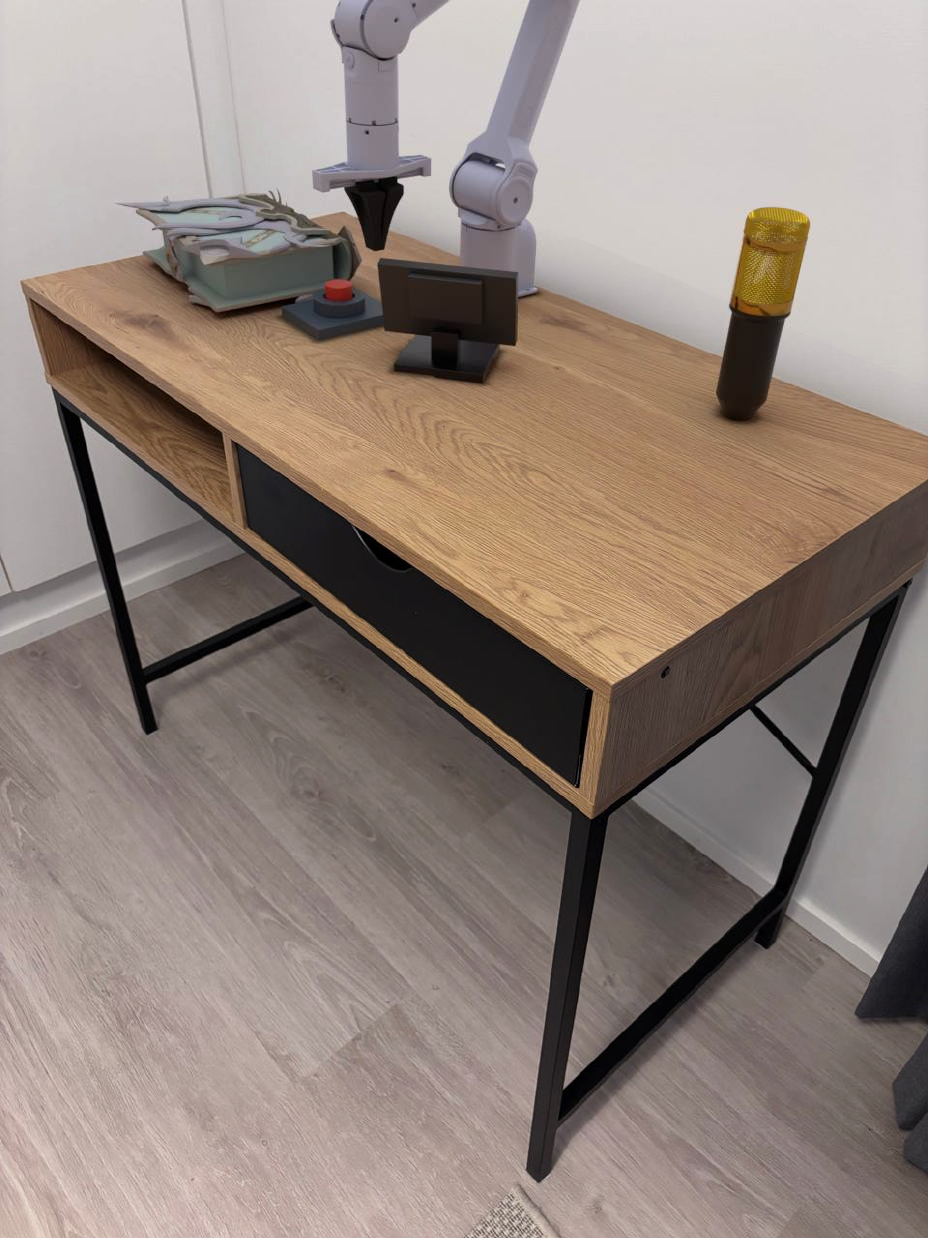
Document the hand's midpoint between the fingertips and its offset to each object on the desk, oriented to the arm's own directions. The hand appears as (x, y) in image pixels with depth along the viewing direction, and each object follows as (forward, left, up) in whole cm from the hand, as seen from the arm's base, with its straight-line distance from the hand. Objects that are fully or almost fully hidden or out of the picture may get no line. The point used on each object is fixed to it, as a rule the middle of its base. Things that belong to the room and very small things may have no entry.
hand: (375, 248), depth 116 cm
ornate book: (+7, -22, -9) cm, 25 cm away
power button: (+4, -2, -6) cm, 7 cm away
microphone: (-17, +39, -9) cm, 43 cm away
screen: (0, +14, -6) cm, 16 cm away
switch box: (+4, -2, -9) cm, 10 cm away
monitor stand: (0, +15, -9) cm, 17 cm away
